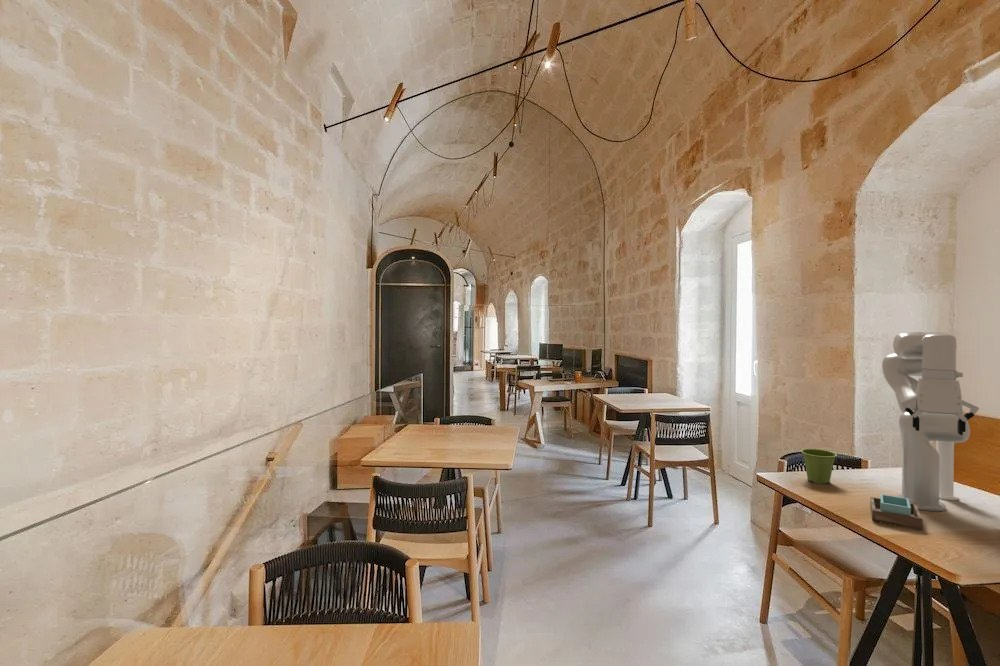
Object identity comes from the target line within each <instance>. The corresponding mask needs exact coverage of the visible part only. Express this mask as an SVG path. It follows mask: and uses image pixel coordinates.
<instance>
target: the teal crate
mask: <svg viewBox="0 0 1000 666" xmlns="http://www.w3.org/2000/svg"><path fill="white" fill-rule="evenodd" d="M879 498H880V511H884V512H890V513H896V514H902V515H908V516H911V507H910V502H909V499H908V498H902V497H897V496H896V495H895V496H894V495H888V494H881V493H880V495H879Z"/></svg>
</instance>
